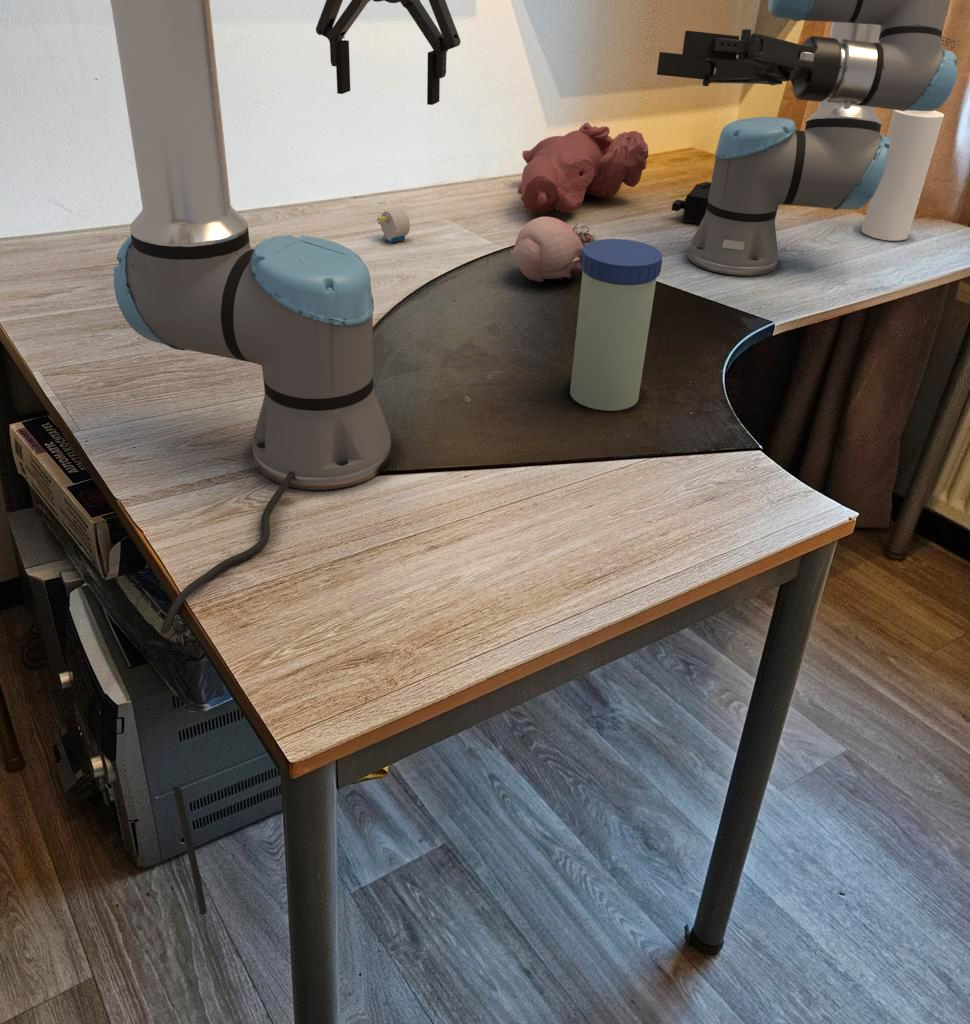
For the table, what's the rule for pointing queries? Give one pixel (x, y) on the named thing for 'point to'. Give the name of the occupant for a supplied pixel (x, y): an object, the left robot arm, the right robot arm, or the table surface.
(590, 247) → the lid
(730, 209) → the right robot arm
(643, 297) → the jar
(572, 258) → the toy
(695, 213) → the toy
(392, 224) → the electric motor
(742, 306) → the table surface
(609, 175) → the reddish brown figurine
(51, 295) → the table surface
